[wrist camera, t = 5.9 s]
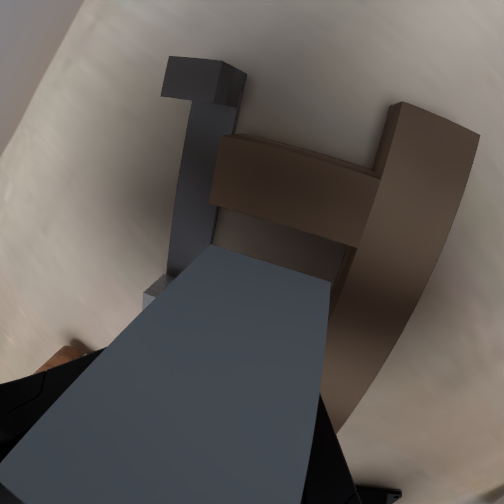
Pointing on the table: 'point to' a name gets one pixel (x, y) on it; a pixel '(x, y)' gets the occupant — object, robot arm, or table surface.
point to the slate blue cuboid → (190, 397)
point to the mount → (326, 211)
